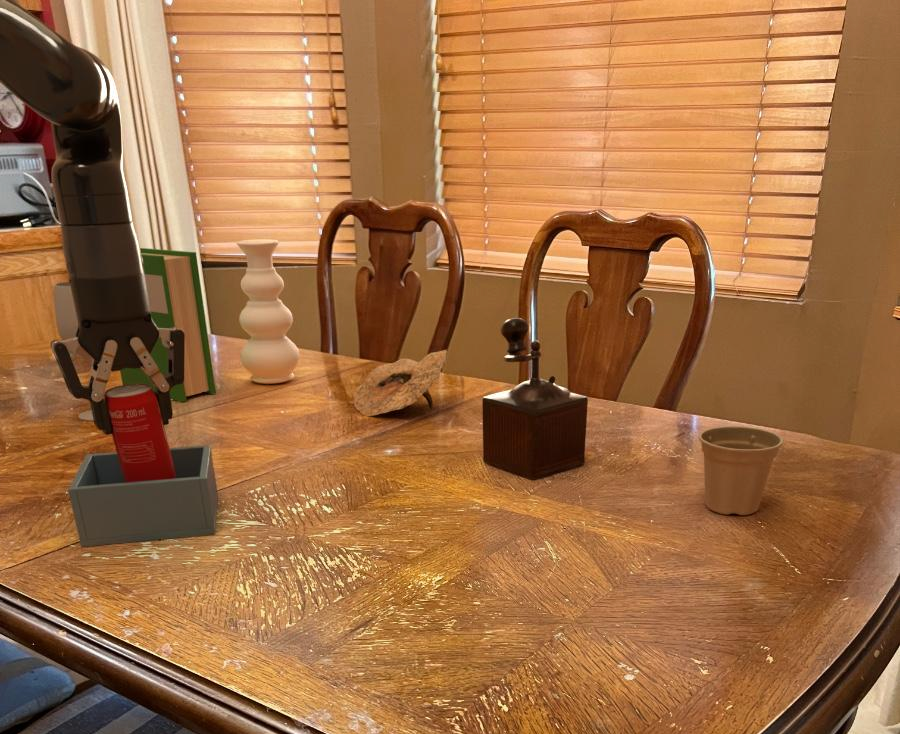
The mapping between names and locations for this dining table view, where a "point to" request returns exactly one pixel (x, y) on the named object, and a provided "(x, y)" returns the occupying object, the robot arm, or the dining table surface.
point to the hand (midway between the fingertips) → (135, 427)
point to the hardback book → (177, 320)
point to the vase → (265, 317)
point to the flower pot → (737, 467)
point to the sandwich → (398, 384)
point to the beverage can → (139, 433)
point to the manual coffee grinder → (533, 418)
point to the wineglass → (69, 325)
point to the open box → (144, 500)
